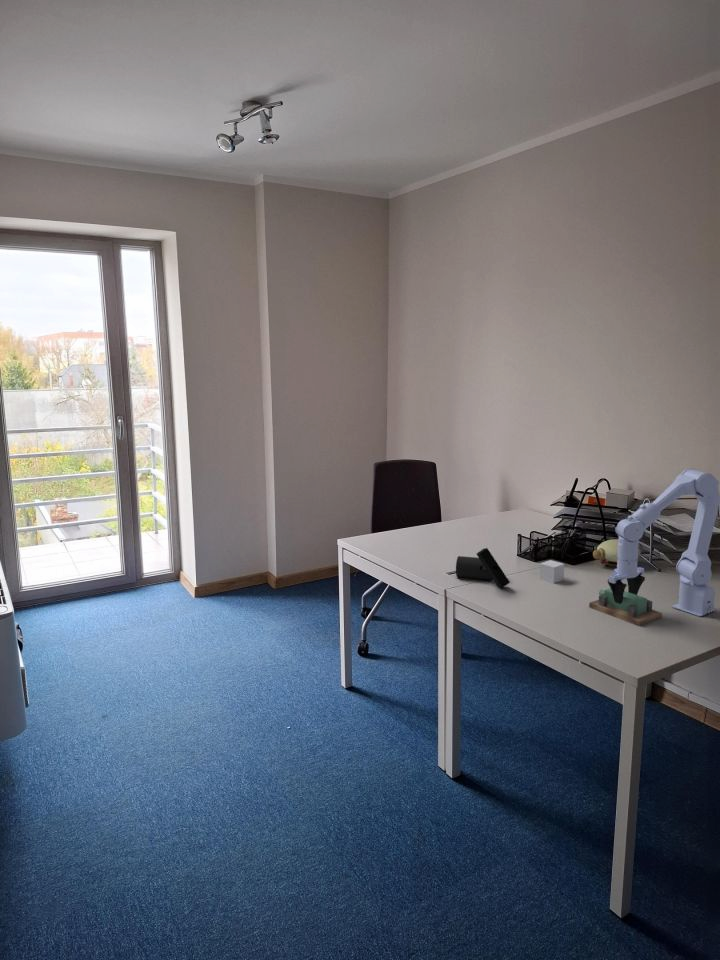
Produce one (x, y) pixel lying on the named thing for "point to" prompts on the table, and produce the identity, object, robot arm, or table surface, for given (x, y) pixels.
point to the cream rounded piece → (608, 552)
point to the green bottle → (626, 601)
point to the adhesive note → (551, 571)
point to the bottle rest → (627, 616)
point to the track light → (481, 568)
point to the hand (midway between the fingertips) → (625, 600)
